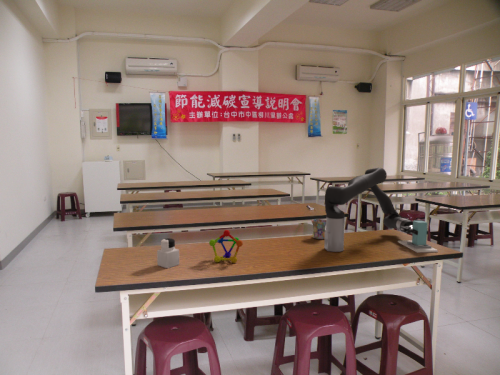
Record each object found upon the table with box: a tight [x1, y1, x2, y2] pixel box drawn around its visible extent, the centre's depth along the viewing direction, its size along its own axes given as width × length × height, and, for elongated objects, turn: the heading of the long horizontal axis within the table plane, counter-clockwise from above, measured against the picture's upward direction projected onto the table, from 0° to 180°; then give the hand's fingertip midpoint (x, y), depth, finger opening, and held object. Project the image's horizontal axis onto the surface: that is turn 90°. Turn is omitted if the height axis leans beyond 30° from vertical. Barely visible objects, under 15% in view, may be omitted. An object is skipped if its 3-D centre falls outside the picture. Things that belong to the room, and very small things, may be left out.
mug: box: [311, 218, 326, 240], centre depth 208 cm, size 12×9×11 cm
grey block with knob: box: [156, 237, 180, 269], centre depth 158 cm, size 7×7×12 cm
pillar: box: [411, 220, 428, 245], centre depth 185 cm, size 5×5×12 cm
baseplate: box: [397, 239, 439, 253], centre depth 188 cm, size 11×20×2 cm, turn 4°
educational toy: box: [208, 229, 244, 264], centre depth 166 cm, size 16×13×15 cm
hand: (422, 232), depth 183 cm, fingers closed on pillar, 5 cm apart
